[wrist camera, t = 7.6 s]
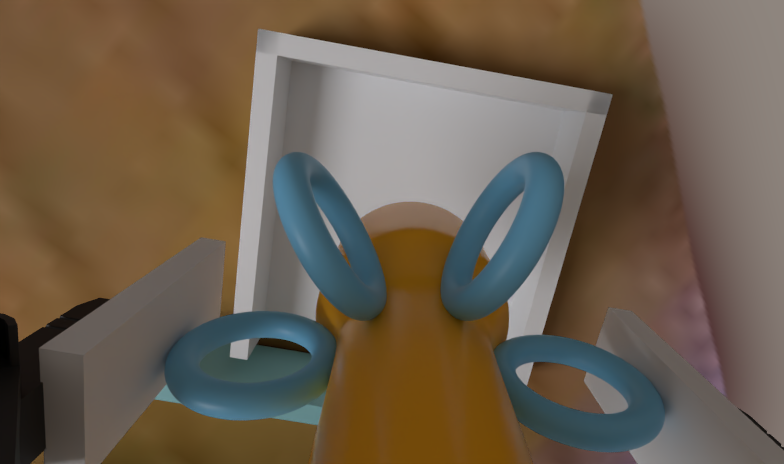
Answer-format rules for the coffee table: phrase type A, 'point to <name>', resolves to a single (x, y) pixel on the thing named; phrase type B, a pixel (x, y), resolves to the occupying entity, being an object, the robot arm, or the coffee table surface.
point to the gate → (258, 374)
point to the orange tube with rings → (416, 331)
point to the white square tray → (402, 156)
